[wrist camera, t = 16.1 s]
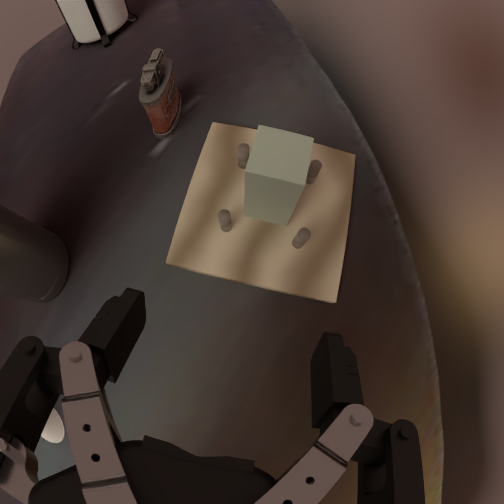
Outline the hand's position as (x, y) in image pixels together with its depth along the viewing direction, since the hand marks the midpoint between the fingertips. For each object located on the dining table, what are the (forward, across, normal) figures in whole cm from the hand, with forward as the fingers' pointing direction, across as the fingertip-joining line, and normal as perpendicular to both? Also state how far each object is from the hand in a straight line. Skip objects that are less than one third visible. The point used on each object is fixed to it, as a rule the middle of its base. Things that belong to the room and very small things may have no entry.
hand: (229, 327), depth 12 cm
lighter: (+29, +15, -5) cm, 33 cm away
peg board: (+22, -1, +2) cm, 22 cm away
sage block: (+21, -1, +2) cm, 21 cm away
